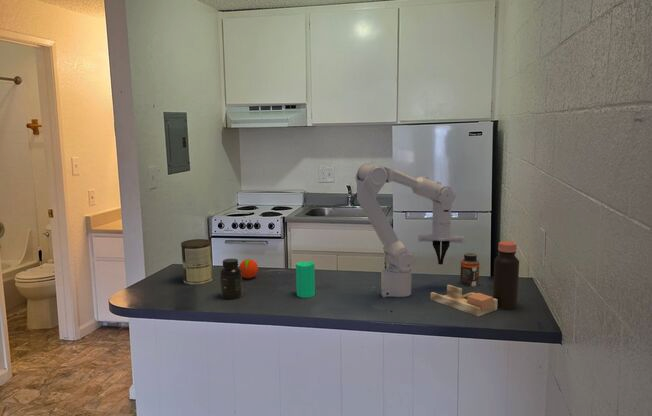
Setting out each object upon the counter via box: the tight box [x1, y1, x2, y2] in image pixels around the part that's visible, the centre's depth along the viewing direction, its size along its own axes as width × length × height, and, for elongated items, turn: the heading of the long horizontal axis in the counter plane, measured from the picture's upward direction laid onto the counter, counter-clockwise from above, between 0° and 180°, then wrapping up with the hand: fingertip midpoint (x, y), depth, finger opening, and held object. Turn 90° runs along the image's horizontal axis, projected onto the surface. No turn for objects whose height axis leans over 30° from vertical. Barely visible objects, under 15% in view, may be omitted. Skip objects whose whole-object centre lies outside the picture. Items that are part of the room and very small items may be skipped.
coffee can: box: [180, 238, 213, 285], centre depth 177 cm, size 10×10×14 cm
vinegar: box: [492, 240, 520, 311], centre depth 144 cm, size 7×7×20 cm
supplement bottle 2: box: [459, 252, 480, 287], centre depth 166 cm, size 6×6×11 cm
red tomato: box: [238, 258, 259, 279], centre depth 179 cm, size 8×7×7 cm
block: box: [466, 292, 493, 310], centre depth 142 cm, size 5×5×4 cm
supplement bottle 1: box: [219, 258, 243, 300], centre depth 160 cm, size 7×7×12 cm
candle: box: [295, 260, 316, 298], centre depth 160 cm, size 6×6×12 cm
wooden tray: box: [430, 284, 498, 317], centre depth 149 cm, size 18×16×4 cm
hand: (440, 263), depth 161 cm, fingers closed
